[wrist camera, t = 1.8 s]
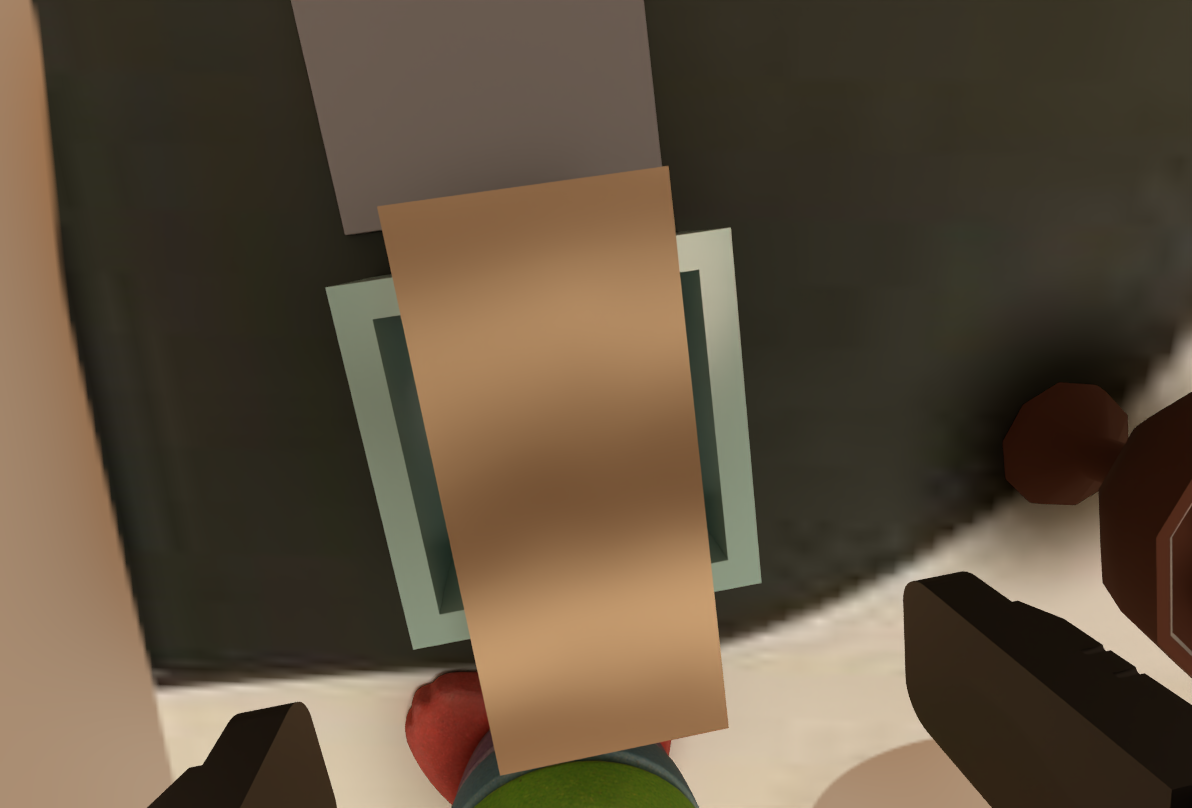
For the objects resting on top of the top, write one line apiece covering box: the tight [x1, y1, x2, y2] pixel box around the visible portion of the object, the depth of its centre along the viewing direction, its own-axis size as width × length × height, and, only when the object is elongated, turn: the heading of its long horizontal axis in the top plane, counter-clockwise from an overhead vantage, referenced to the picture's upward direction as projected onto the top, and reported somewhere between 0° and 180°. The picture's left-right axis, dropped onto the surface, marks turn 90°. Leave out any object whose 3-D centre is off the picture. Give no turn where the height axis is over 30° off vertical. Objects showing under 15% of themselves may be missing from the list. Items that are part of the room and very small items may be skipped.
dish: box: [325, 228, 761, 650], centre depth 22 cm, size 11×11×6 cm
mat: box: [291, 0, 662, 235], centre depth 21 cm, size 12×11×1 cm
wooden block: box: [377, 166, 729, 776], centre depth 17 cm, size 14×6×4 cm, turn 8°
